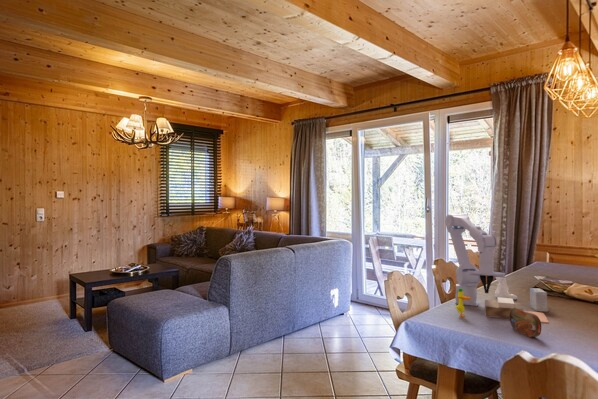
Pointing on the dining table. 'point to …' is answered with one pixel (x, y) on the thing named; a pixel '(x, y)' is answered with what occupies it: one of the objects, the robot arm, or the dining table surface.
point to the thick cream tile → (505, 302)
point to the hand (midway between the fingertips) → (486, 292)
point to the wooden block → (498, 309)
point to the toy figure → (461, 302)
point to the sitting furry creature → (503, 289)
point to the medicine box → (538, 299)
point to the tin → (525, 322)
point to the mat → (540, 316)
